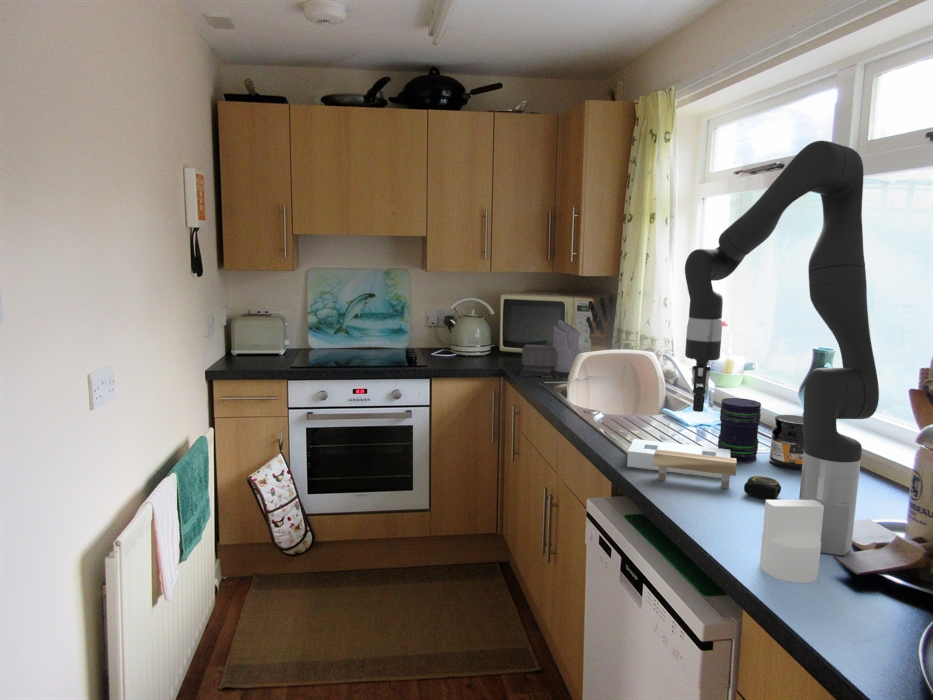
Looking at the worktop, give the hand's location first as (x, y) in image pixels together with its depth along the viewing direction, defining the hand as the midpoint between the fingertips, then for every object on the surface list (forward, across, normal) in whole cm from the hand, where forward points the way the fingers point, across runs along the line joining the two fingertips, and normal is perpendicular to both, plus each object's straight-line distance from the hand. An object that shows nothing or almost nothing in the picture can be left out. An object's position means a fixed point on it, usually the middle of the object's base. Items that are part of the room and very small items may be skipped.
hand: (698, 407), depth 155 cm
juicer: (+19, +121, +63) cm, 137 cm away
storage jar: (+18, +26, -10) cm, 33 cm away
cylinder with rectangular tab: (+18, -40, -17) cm, 47 cm away
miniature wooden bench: (+18, 0, 0) cm, 18 cm away
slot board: (+18, +12, +4) cm, 22 cm away
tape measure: (+18, -4, -15) cm, 24 cm away
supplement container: (+18, +25, -23) cm, 38 cm away
